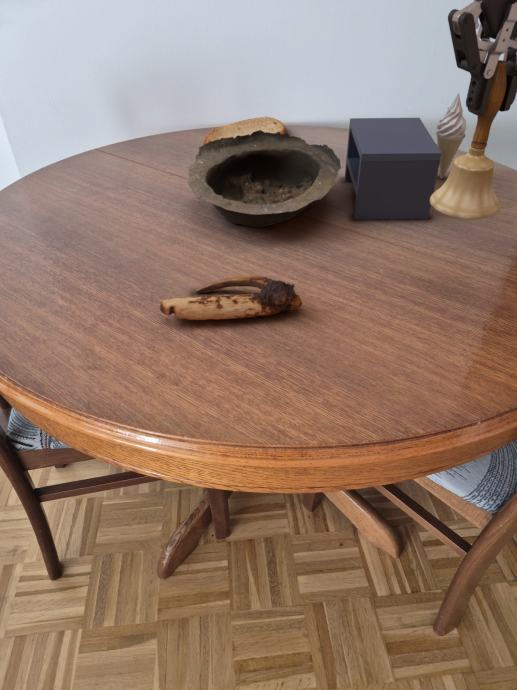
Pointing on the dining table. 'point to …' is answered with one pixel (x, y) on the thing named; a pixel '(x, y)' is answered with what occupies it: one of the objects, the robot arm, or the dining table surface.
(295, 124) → the dining table surface
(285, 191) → the stone bowl
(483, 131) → the hand bell
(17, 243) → the dining table surface
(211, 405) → the dining table surface
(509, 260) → the dining table surface
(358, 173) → the shelf
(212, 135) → the bread slice
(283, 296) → the lashed bone hook
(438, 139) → the ice cream cone
